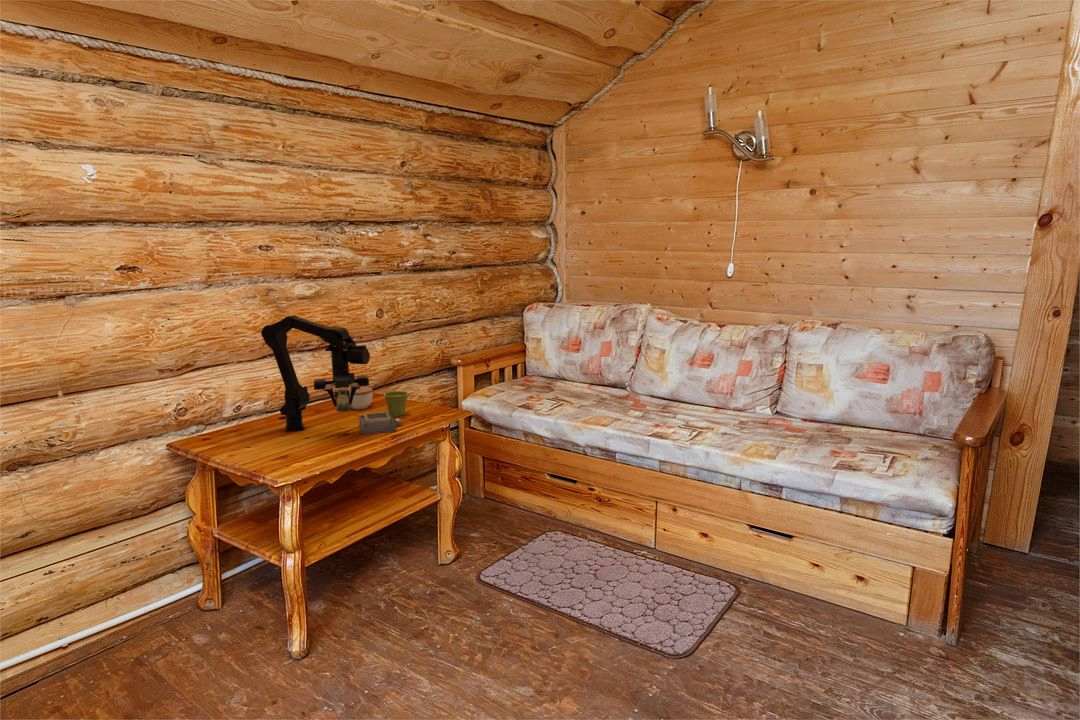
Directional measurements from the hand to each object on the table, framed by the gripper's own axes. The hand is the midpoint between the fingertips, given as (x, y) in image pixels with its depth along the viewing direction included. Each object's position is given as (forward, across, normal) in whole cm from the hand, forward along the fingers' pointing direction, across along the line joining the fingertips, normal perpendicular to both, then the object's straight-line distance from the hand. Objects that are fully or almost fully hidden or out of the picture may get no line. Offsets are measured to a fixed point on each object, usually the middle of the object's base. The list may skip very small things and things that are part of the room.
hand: (342, 405), depth 232 cm
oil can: (+2, 0, 0) cm, 2 cm away
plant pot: (+10, +21, +16) cm, 28 cm away
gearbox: (+10, +13, +1) cm, 17 cm away
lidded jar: (+10, +8, +32) cm, 35 cm away
